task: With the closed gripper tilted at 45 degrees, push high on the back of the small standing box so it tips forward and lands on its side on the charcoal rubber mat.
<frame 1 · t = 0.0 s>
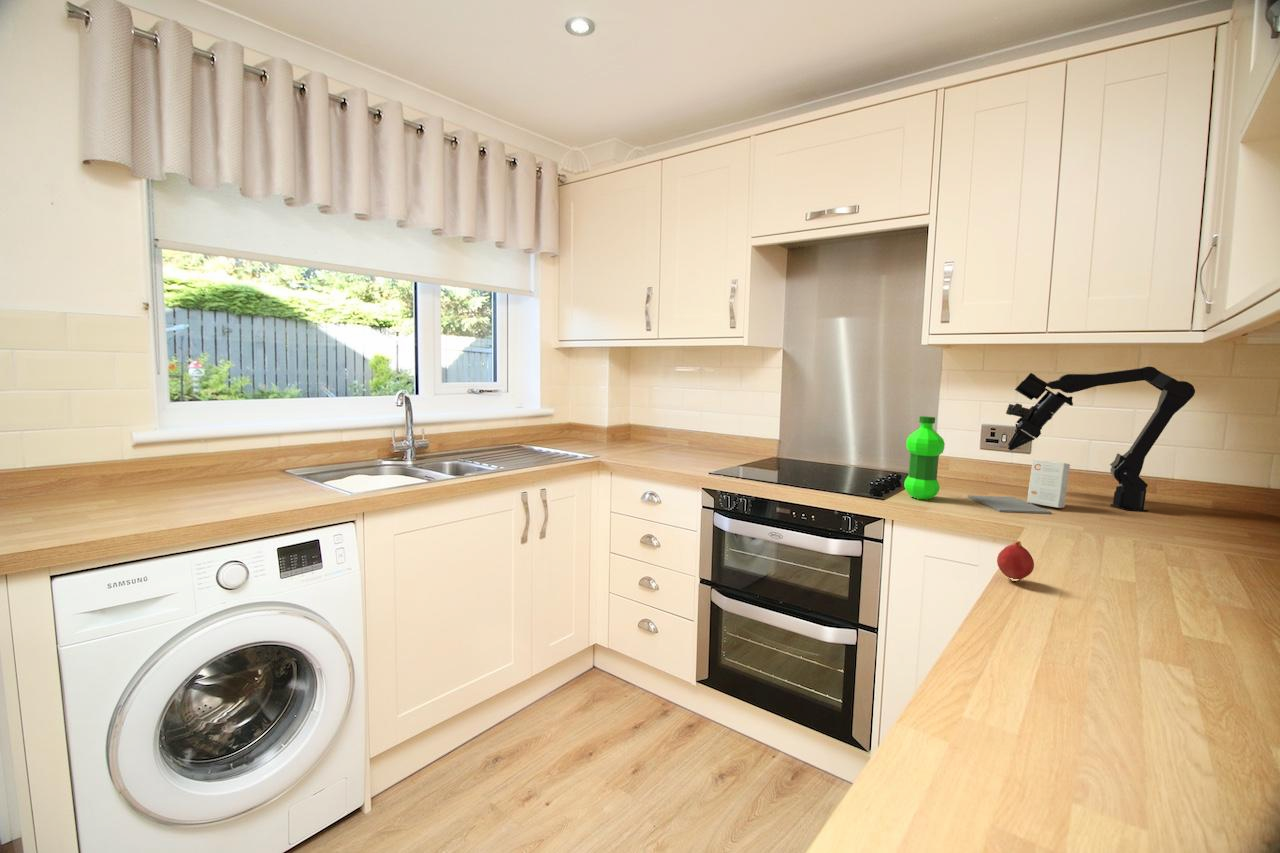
hand: (1009, 447, 188), 15 cm above the counter, tool tilted 35°, fingers open, 9 cm apart
plastic bottle: (920, 498, 179), on the counter
onion: (1013, 582, 110), on the counter
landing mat: (1007, 505, 173), on the counter
small box: (1045, 505, 172), on the counter, touching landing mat
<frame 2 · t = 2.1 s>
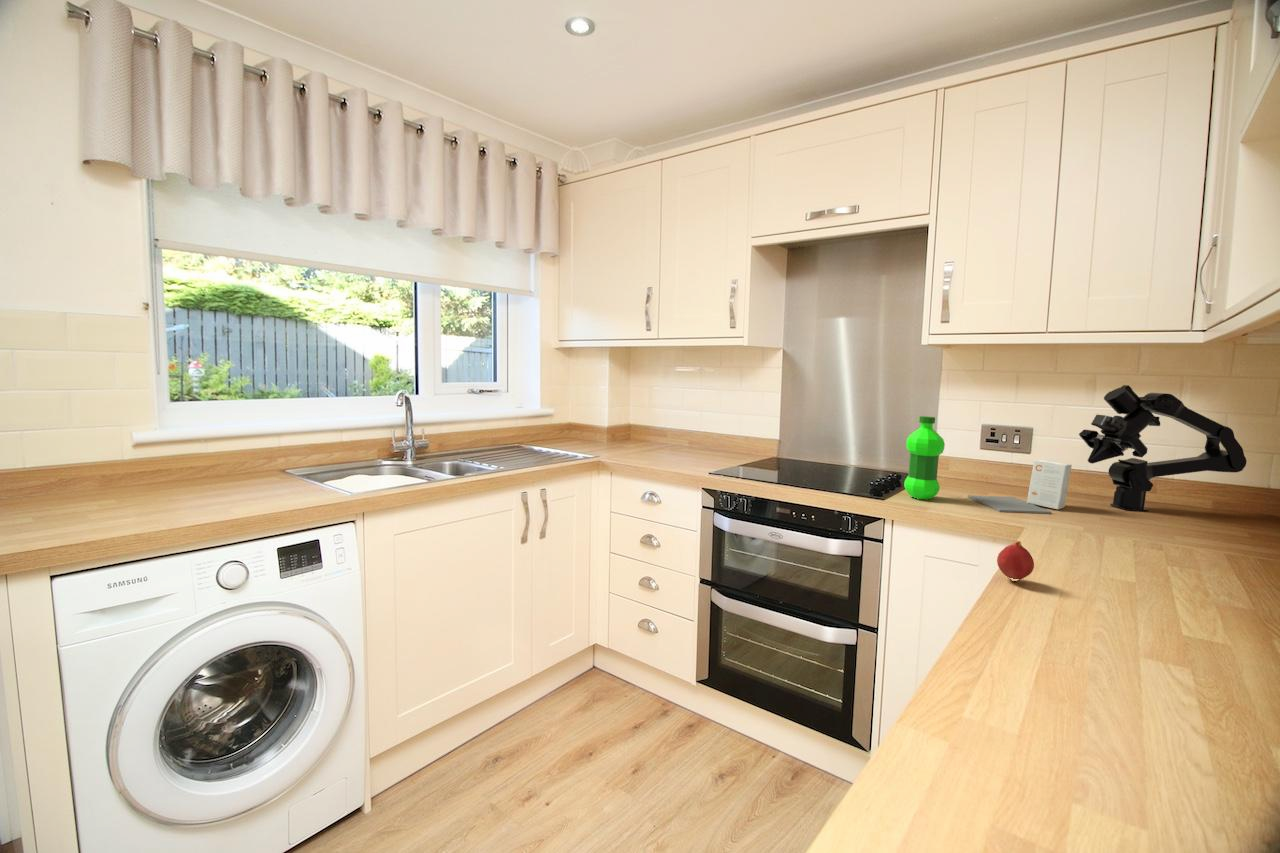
hand: (1089, 462, 171), 14 cm above the counter, tool tilted 45°, fingers closed
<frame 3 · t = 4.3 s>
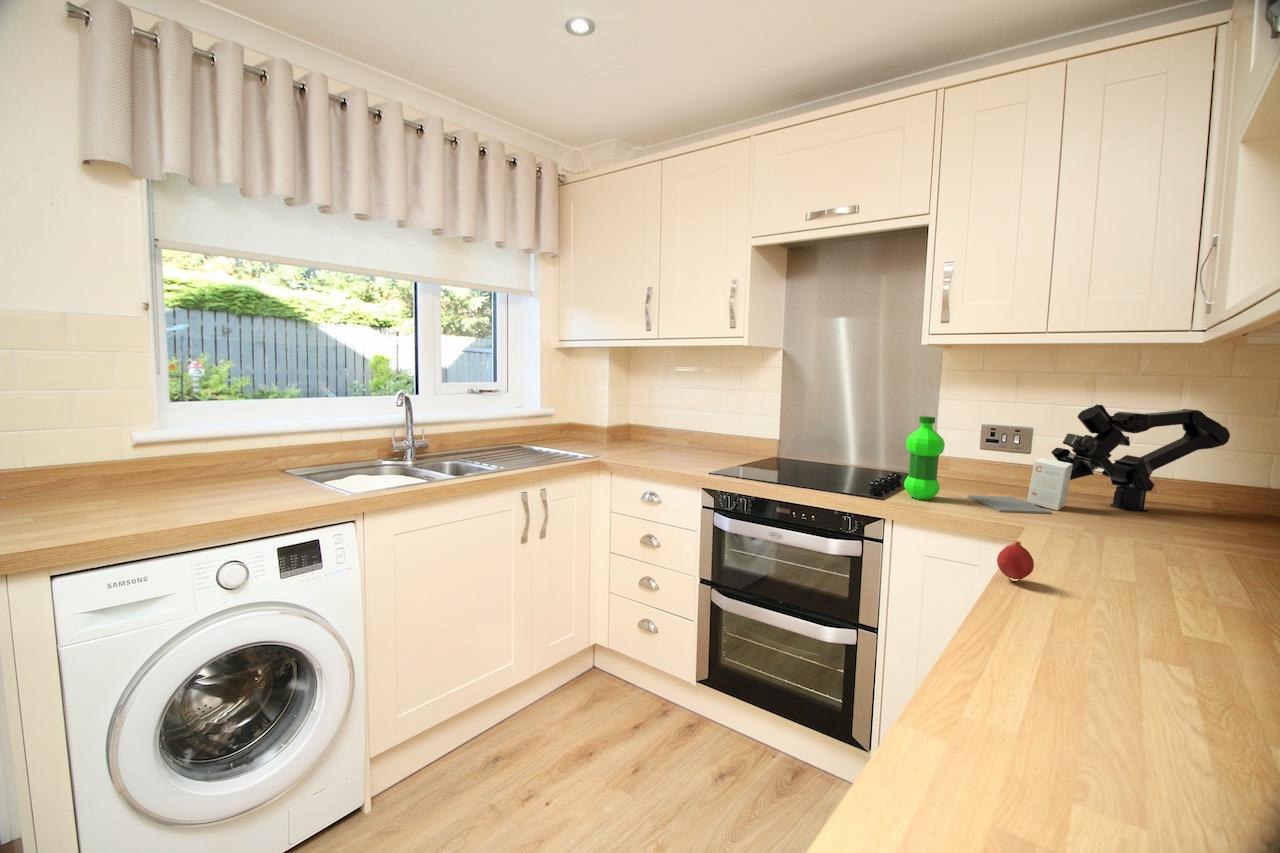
hand: (1060, 480, 171), 8 cm above the counter, tool tilted 45°, fingers closed
small box: (1045, 504, 172), point 1 cm above the counter, touching gripper, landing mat
everything else where it was.
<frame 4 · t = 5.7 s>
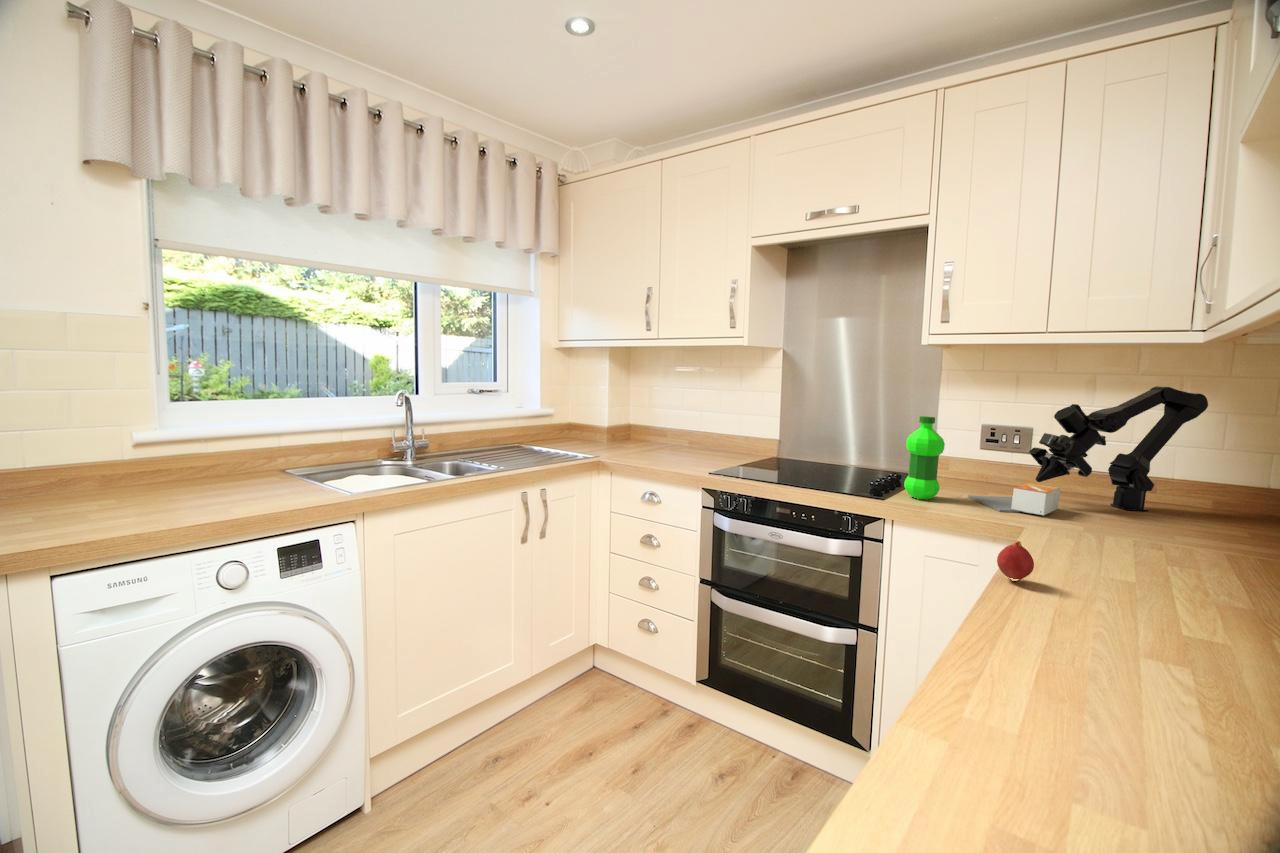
hand: (1037, 480, 171), 8 cm above the counter, tool tilted 45°, fingers closed
small box: (1043, 495, 170), point 4 cm above the counter, touching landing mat
everything else where it was.
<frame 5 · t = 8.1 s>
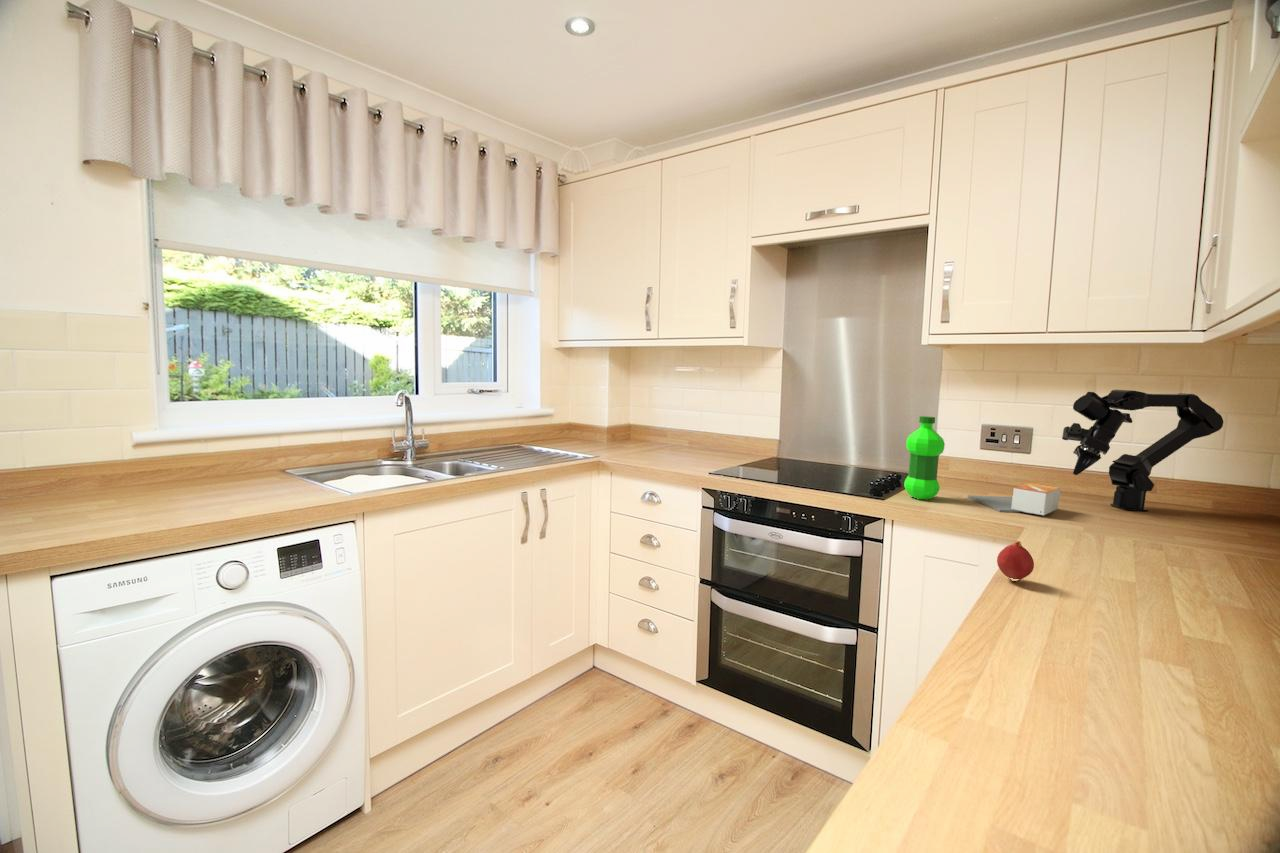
hand: (1074, 474, 171), 10 cm above the counter, tool tilted 30°, fingers closed
nothing on the counter moved.
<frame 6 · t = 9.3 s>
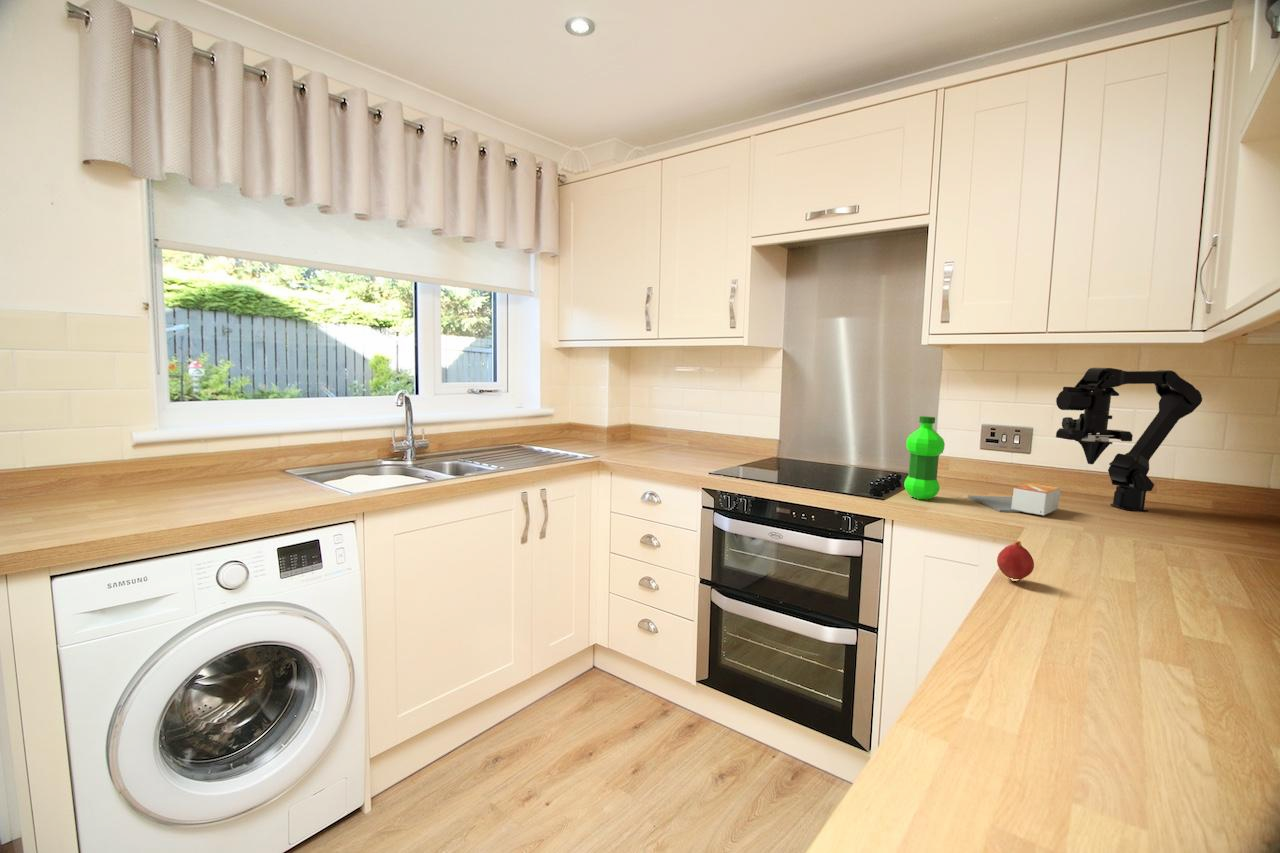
hand: (1090, 464, 171), 13 cm above the counter, tool pointing down, fingers closed
nothing on the counter moved.
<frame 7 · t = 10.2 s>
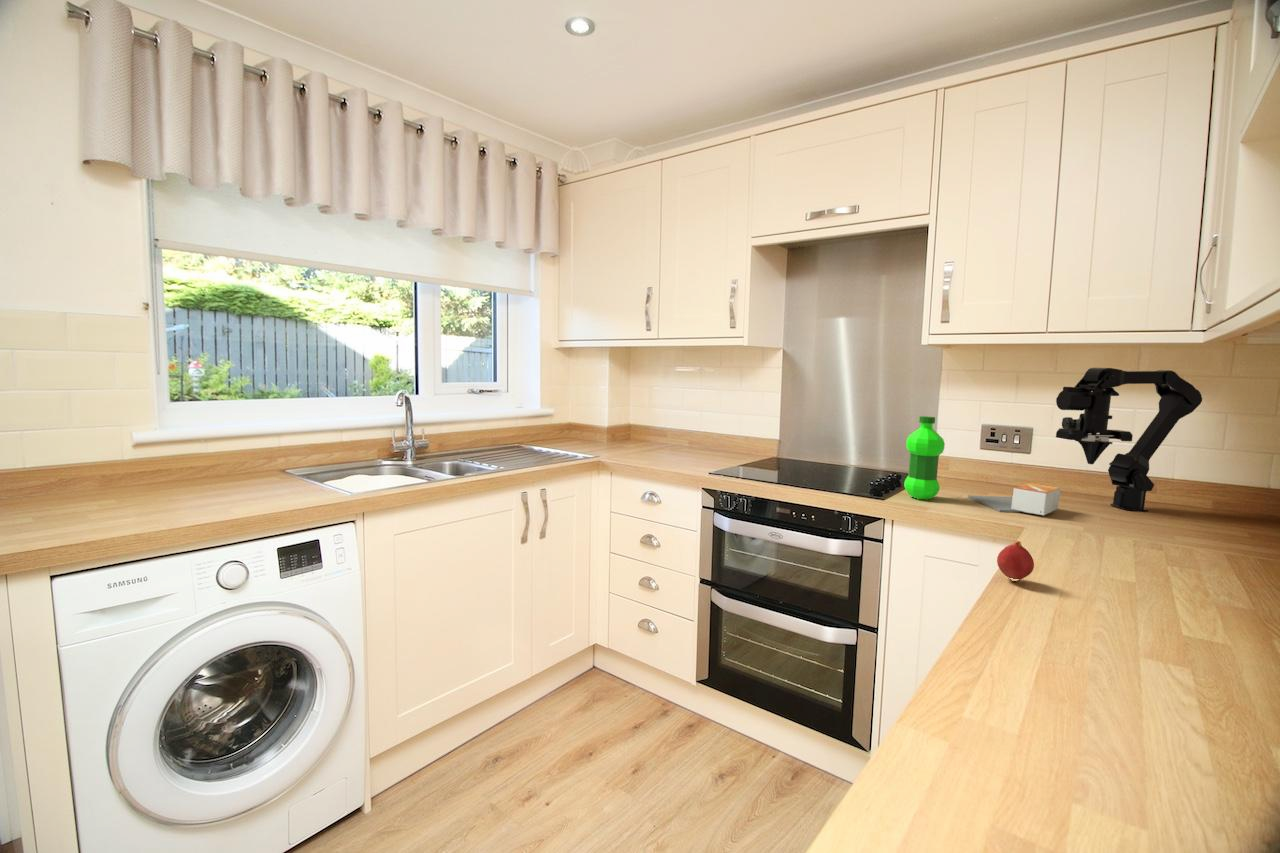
hand: (1090, 464, 171), 13 cm above the counter, tool pointing down, fingers closed
nothing on the counter moved.
at the end: small box tilted 90°; small box touching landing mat; the gripper is holding nothing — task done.
